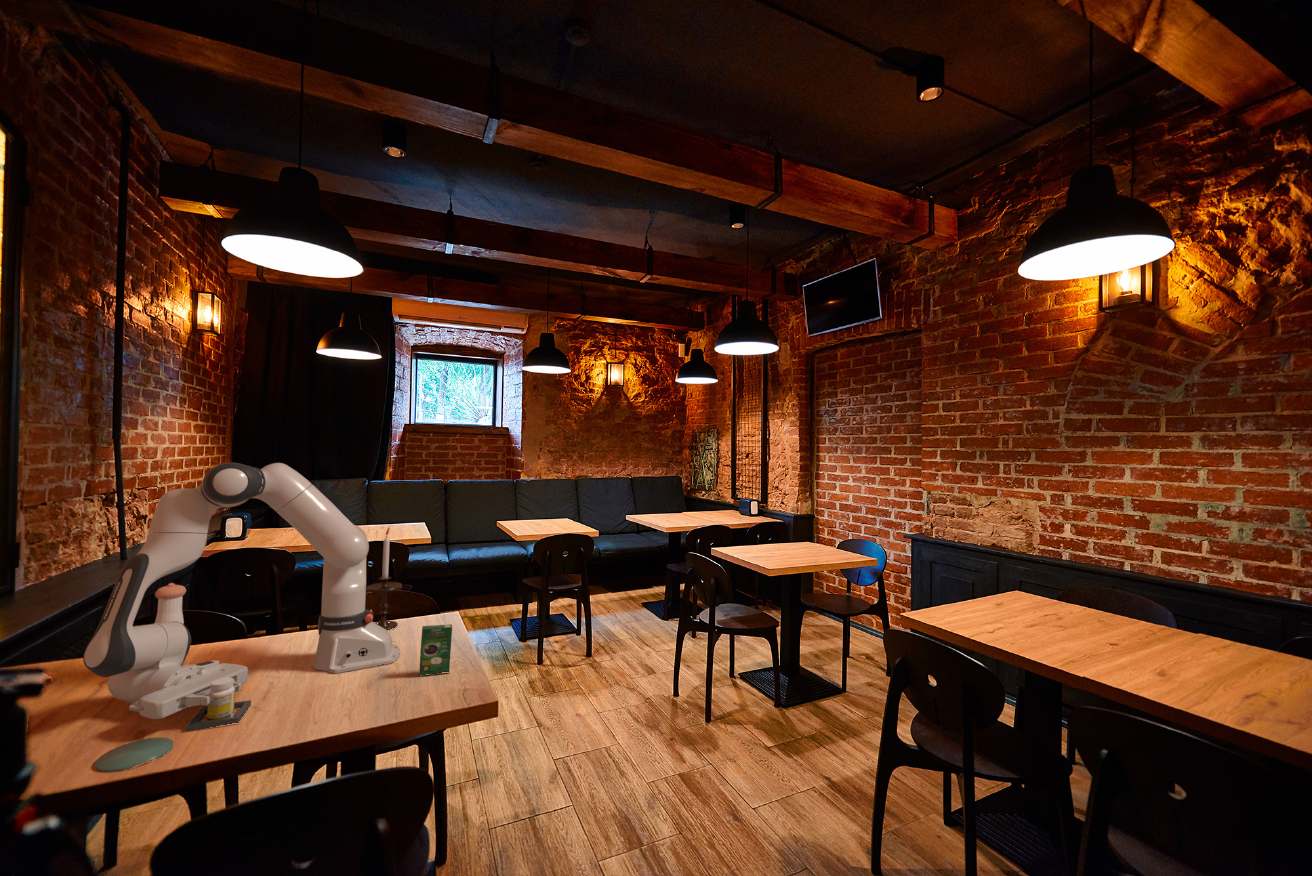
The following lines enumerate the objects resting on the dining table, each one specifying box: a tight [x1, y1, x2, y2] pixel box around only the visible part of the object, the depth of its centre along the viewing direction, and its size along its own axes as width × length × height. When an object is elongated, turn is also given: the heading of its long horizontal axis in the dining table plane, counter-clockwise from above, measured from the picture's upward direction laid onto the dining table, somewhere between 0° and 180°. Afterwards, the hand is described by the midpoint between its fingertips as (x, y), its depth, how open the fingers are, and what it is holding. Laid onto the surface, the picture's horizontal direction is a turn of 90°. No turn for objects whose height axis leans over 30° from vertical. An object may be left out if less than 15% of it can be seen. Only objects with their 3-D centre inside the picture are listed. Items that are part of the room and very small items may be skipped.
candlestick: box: [366, 525, 403, 631], centre depth 183 cm, size 11×11×35 cm
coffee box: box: [418, 623, 453, 677], centre depth 146 cm, size 8×3×13 cm, turn 110°
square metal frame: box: [186, 699, 252, 733], centre depth 119 cm, size 9×9×1 cm
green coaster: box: [94, 736, 174, 773], centre depth 104 cm, size 11×11×1 cm
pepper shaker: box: [154, 582, 187, 625], centre depth 161 cm, size 7×7×19 cm
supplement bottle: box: [206, 677, 236, 720], centre depth 119 cm, size 5×5×8 cm
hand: (224, 694), depth 119 cm, fingers closed on supplement bottle, 5 cm apart
